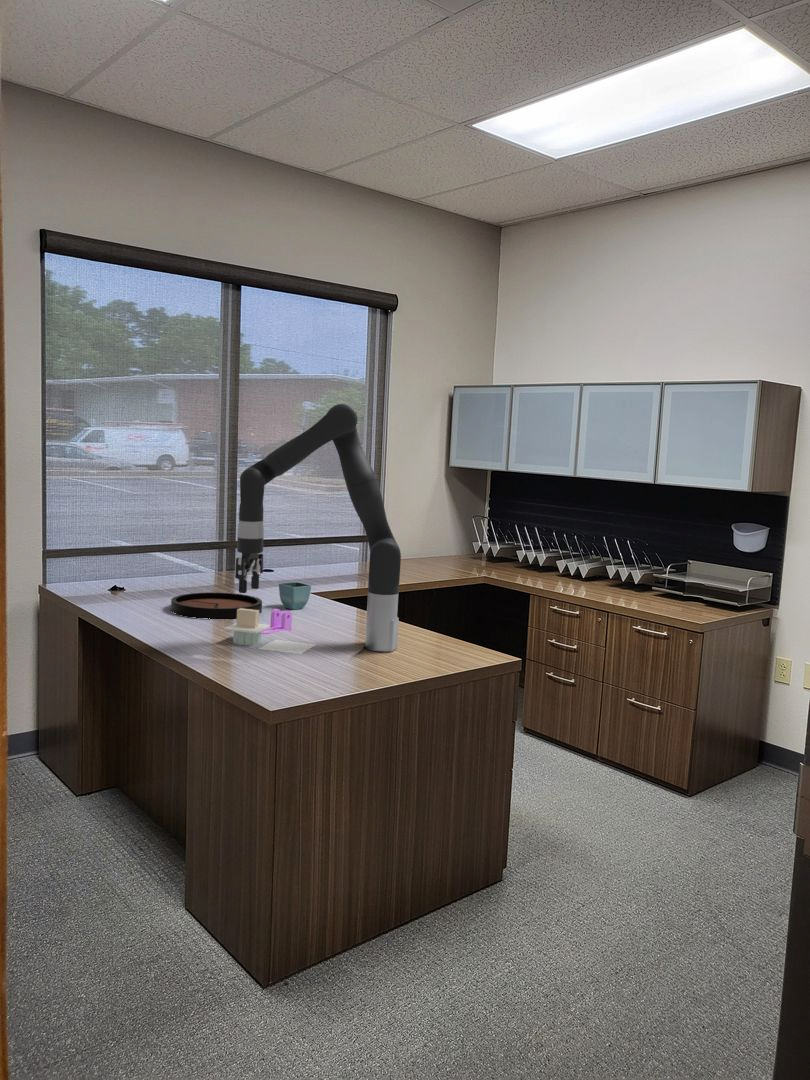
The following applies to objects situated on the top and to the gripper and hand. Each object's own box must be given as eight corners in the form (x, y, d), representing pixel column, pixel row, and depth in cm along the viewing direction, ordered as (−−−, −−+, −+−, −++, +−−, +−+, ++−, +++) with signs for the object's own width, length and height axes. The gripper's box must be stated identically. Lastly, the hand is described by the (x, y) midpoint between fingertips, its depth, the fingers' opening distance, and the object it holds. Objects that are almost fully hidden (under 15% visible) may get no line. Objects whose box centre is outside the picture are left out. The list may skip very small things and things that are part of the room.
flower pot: (310, 609, 312) (312, 585, 311) (292, 611, 306) (293, 587, 305) (295, 605, 318) (296, 581, 317) (277, 607, 312) (278, 583, 311)
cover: (269, 627, 255) (270, 608, 254) (255, 633, 245) (256, 614, 245) (239, 623, 258) (240, 605, 257) (224, 629, 248) (225, 610, 247)
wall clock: (280, 603, 301) (204, 612, 278) (279, 614, 301) (204, 624, 278) (228, 589, 322) (153, 596, 299) (227, 600, 322) (153, 608, 299)
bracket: (277, 629, 277) (278, 608, 276) (291, 631, 274) (292, 610, 273) (252, 635, 265) (252, 613, 265) (266, 638, 263) (267, 616, 262)
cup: (264, 643, 255) (265, 627, 254) (253, 649, 247) (254, 632, 247) (240, 640, 257) (240, 624, 256) (228, 646, 249) (228, 629, 249)
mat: (316, 647, 254) (316, 644, 254) (300, 657, 241) (300, 653, 241) (275, 642, 257) (275, 639, 257) (257, 652, 244) (257, 648, 244)
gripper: (252, 539, 241) (250, 595, 242) (272, 535, 254) (270, 588, 256) (227, 537, 243) (226, 593, 244) (249, 533, 256) (247, 586, 258)
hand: (249, 590), depth 250 cm, fingers open, 8 cm apart
